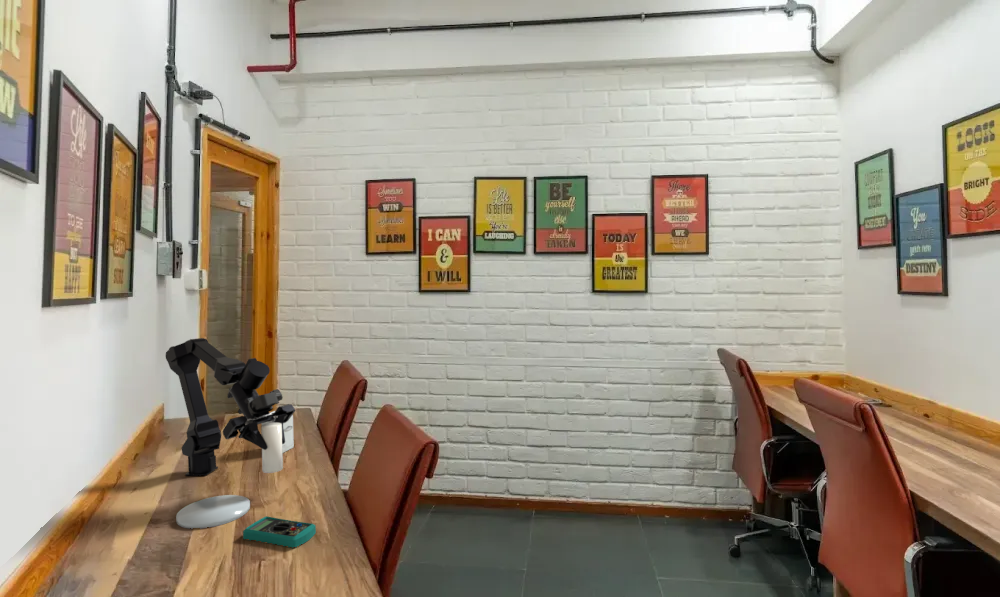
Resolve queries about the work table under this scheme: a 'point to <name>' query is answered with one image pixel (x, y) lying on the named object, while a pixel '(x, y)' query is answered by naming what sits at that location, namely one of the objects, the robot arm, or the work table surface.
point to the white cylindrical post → (272, 447)
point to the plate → (213, 511)
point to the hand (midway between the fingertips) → (275, 445)
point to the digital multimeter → (280, 531)
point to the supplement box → (287, 434)
